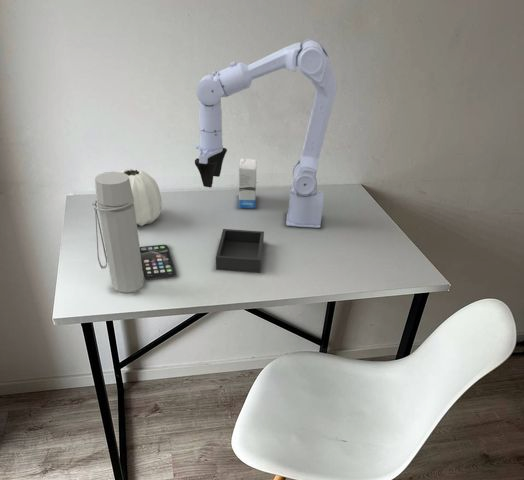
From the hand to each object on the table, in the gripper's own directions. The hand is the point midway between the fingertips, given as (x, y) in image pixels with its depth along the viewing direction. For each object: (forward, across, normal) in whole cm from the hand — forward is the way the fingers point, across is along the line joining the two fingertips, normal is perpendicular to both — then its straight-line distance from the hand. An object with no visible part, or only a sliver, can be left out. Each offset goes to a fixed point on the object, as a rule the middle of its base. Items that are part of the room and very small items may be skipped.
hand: (211, 181), depth 140 cm
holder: (+10, +20, +13) cm, 26 cm away
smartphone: (+10, +29, -6) cm, 31 cm away
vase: (+10, +8, -19) cm, 23 cm away
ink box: (+10, -12, +7) cm, 17 cm away
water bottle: (+10, +40, -9) cm, 43 cm away
